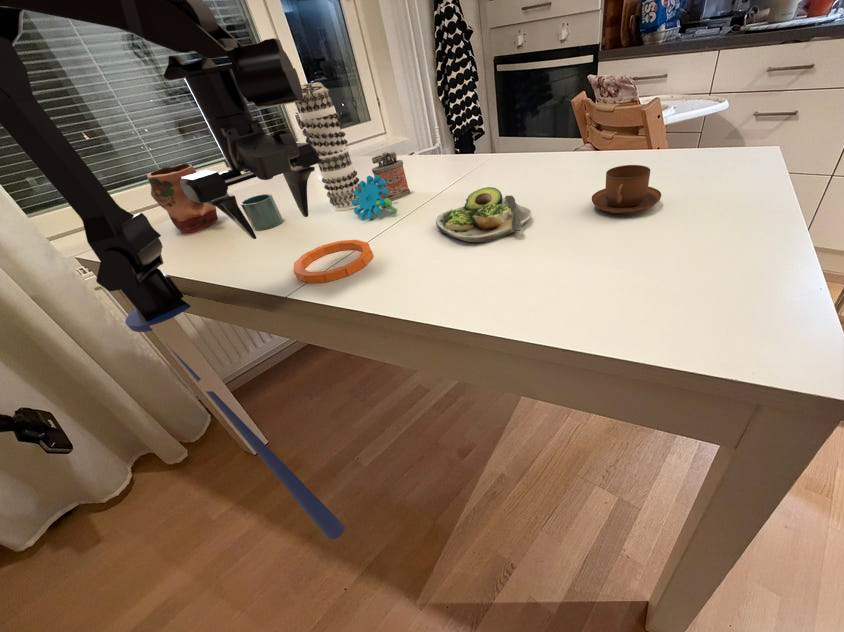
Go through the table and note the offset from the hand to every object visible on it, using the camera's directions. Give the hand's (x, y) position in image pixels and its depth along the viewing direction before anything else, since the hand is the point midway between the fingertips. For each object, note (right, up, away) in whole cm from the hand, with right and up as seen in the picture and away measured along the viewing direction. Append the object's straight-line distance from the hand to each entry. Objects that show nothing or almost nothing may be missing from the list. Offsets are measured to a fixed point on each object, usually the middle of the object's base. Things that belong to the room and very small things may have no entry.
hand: (281, 227), depth 63 cm
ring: (+6, -4, +9) cm, 11 cm away
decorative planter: (-40, +13, +39) cm, 57 cm away
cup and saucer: (+59, +7, +10) cm, 60 cm away
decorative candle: (-1, +18, +35) cm, 40 cm away
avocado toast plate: (+33, +5, +13) cm, 36 cm away
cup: (-19, +12, +32) cm, 39 cm away
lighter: (+11, +19, +35) cm, 41 cm away
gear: (+9, +12, +27) cm, 30 cm away
